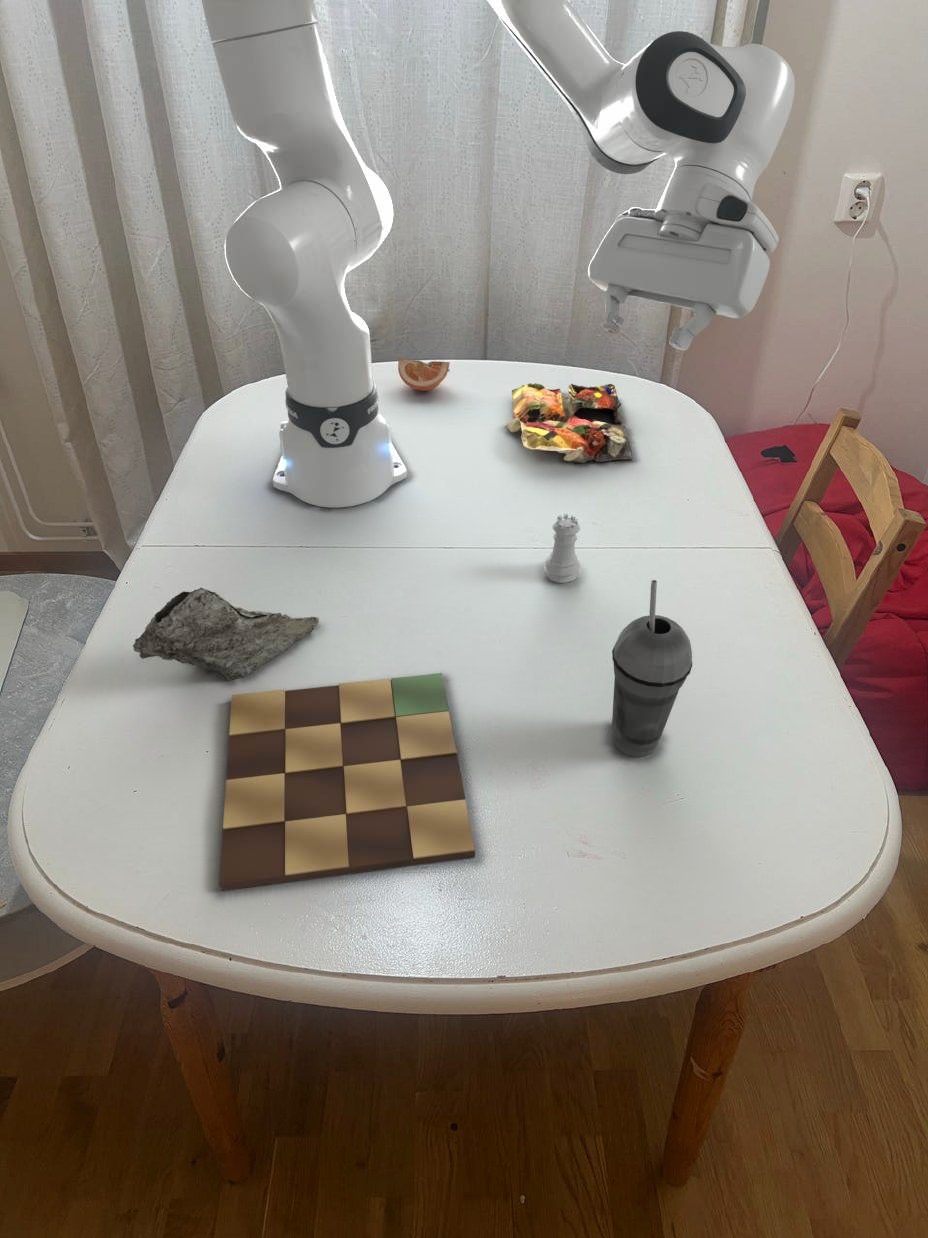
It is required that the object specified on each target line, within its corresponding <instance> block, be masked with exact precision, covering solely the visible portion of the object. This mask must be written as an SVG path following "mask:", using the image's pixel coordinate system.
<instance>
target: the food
mask: <svg viewBox="0 0 928 1238" xmlns="http://www.w3.org/2000/svg"><path fill="white" fill-rule="evenodd" d="M615 386H616V385H615V384H613V383H607V384H604V385H598V386H589V387H588V386H584V385H577V384H573V383H569V384H568V385H567V387H568V389H567V392H568V396H565V393H563V392H562V390H561V388H556V389H551V388H550V389H548V388H546V387H545V386H544V385H543V384H541V383H536V382H535V383H526V384H525V385H524V384H522V385H520V386H519V387H517V388H514V389H512V390H511V401H512V412H513V413H512V418H513V419H512V420H510V421H509V422H507V423H506V424H505V425H504V428H507V429H508V430H509V432H511V433H515V432H520V431H521V441H522V445H523V447H525V448H526V449H529V451H534V450H537V451H538V450H539V451H550V452H551V451H552V452H553V451H554V452H558V453H559V454H565V456H564V457H563V460H564V461H566V462H567V461H568V462H575V463H582V464H585V463H586V462H591V461H595V462H597V463H599V462H600V463H601V462H607V461H615V460H622V461H623V460H632V459H633V460H634V456H633V451H632V448H631V444H630V439H629V436H628V432H627V428H626V426H625V425H617V424H623V421H622V417H621V413H620V410H619V409H620V407H621V406H622V403H621V402H620V400H619V397H618V393H617V392H618V391H617V389H616V387H615ZM579 409H584V410H585V409H589V410H602V409H606V410H612V415H613V420H614V423H615V424H616V425H615V424H610V423H607V422H603V421H599V420H596V419H595V418H593V421H592V422H591V421H590V420H587V419H585V418H583V419H582V418H579V417H578V416H576V415H575V413H576V412H577V411H578V410H579Z"/></svg>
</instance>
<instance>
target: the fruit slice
mask: <svg viewBox="0 0 928 1238" xmlns="http://www.w3.org/2000/svg"><path fill="white" fill-rule="evenodd" d="M397 363H398V364H397V369H398V370H397V371H398V374H399V377H400V378H401V380H402V381H403V383H404V384H405V385H407V386H408V387H410V388H412V389H414V390H417V391H430V390H433V389H435V388H437V387H438V386H439V385H440V384H441V383H442V382H443V381H444V380H445V379H446V378H447V375H448V373H449V372H450V364H451V363H450V361H436V360H435V361H429V362H424V361H421V360H419V359H418V360H415V359H407V358H406V359H405V358H399V359H398V362H397Z"/></svg>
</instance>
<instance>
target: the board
mask: <svg viewBox="0 0 928 1238" xmlns="http://www.w3.org/2000/svg"><path fill="white" fill-rule="evenodd" d="M229 717H230V718H229V730H228V732H229V733H228V746H227V747H228V748H227V764H226V779H225V790H224V791H225V792H224V805H223V818H222V819H223V821H222V836H221V838H222V839H221V850H220V851H221V852H220V865H219V866H220V867H219V879H218V881H219V882H218V885H219V888H220V891H229V890H237V889H245V888H251V887H260V886H267V885H273V884H275V885H276V884H283V883H290V882H297V881H306V880H313V879H321V878H326V877H327V878H328V877H336V876H342V875H350V874H351V875H352V874H359V873H365V872H367V873H368V872H373V871H382V870H390V869H396V868H405V867H411V866H412V867H413V866H419V865H420V866H421V865H428V864H435V863H442V862H450V861H457V860H465V859H472V858H475V857H476V847H475V841H474V838H473V837H474V836H473V831H472V826H471V820H470V815H469V811H468V805H467V799H466V794H465V789H464V783H463V779H462V774H461V768H460V762H459V757H458V751H457V746H456V741H455V735H454V730H453V725H452V720H451V719H452V718H451V713H450V708H449V704H448V698H447V694H446V688H445V682H444V678H443V673H442V672H438V673H428V674H419V675H409V676H401V677H400V676H399V677H392V678H391V677H390V678H380V679H372V680H363V681H352V682H341V683H338V684H336V685H325V686H318V687H310V688H308V687H307V688H299V689H298V688H297V689H289V690H288V689H287V690H285V689H277V690H268V691H266V690H265V691H258V692H256V691H255V692H248V693H239V694H232V695H231V702H230V716H229Z"/></svg>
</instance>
